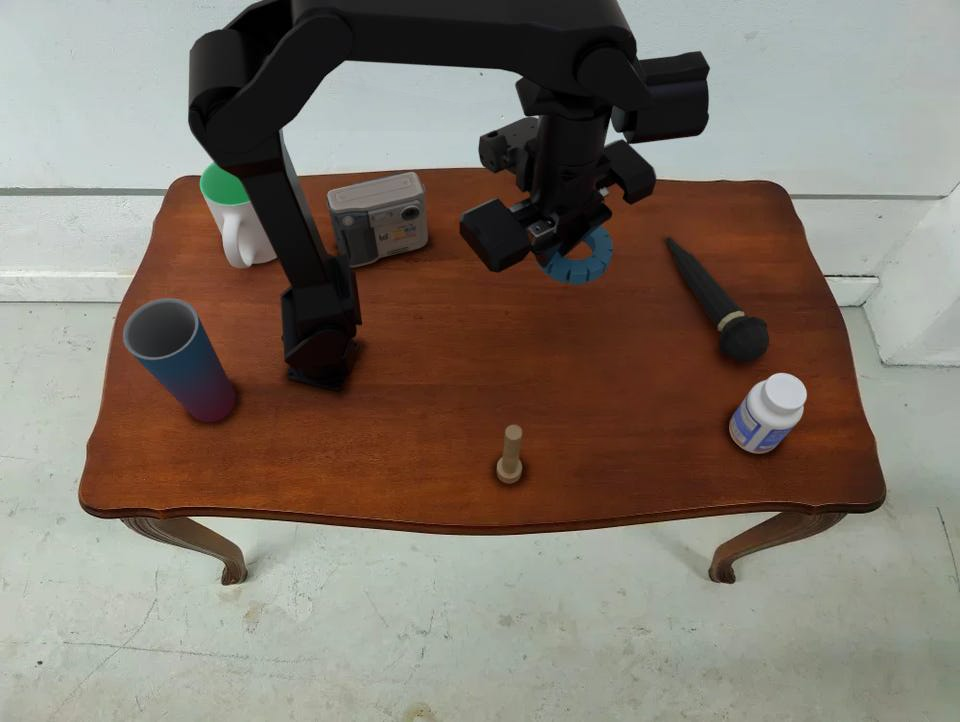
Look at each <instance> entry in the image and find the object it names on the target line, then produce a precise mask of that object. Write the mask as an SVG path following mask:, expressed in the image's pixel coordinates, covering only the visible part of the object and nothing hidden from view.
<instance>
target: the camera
mask: <svg viewBox="0 0 960 722" xmlns="http://www.w3.org/2000/svg"><path fill="white" fill-rule="evenodd" d="M425 187H426V186H425V184H424V183H422V182H421V180H420V177H419V175H418V174H417V173H416V172H413V171H409V172H405V173H392V174H387V175H383V176H380V177H374V178H371V179H366V180H362V181H357V182H353V183H350V184H349V185H347V186H343V187H339V188H338V187H337V188H334V189H331V190H329V191H327V192H326V193H327V194H326V196H325V200H326V201H325V202H326V206H327V209H328V213H329V217H330V221H331V225H332V229H333V236H334V238H335V242H336V246H337V249H338V251H339V256H340V255H343V254H346V253H348V258H349V265H350V268H351V269H353V268H354V269H355V268H360V267H364V266H367V265H371V264H374V263H375V262H377V261H378V260H379V259H381V258H385V257H390V256H393V255H398V254H403V253H406V252H411V251H414V250H419V249H421V248H423V247H424V246H426V245H427V243H428V240H429V232H428V215H427V204H426V201H427V200H426V193H427V190H426V188H425Z"/></svg>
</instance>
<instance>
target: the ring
mask: <svg viewBox="0 0 960 722" xmlns="http://www.w3.org/2000/svg"><path fill="white" fill-rule="evenodd" d="M556 226H557V223H556ZM554 232H555V233H556V228H555V229H554ZM581 243H585V244H586V246H587V247H588V248H589V249H590V250H591V255H588V256H587V257H586V258H582V259H571V258H569V257H567V256H565V257H562V256H561V255H560V254H559V253H558V251H557V252H556V253H555V255H554V257H553V258H552V260H551V261H550V263H549V264H548V265H547V266H546V267H545V268H542V267H541V266H540V265H539V263H538V262H537V260H536V259H535V261H536V262H537V266H538V267H539V268H540V269H541V271H542V272H543V273H544V274H545V275H546V276H548V275H549V278H550V279H552V280H554V281H557V282H558V283H559V282H560V283H562V284H566V283H568V285H586V282H587V283H588V284H590V283H591V282H593V281H595V280H597V279H600V278H601V277H602V275H604V274H605V273H606V271H607V269H608V268H609V266H610V263H611V260H612V257H613V251H614V246H613V240H612V237H611V236H610V233H609V231H608V230H607V229H606V228H605V227H604V226H603V224H602V225H601V226H599V227H598V228H597V229H596V230H595V231H593V232H592V233H591V234H590V235H589V236H587V237H586V238H585V239H584V240H583V241H582V242H581Z"/></svg>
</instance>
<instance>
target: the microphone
mask: <svg viewBox="0 0 960 722" xmlns="http://www.w3.org/2000/svg"><path fill="white" fill-rule="evenodd" d="M665 241H666V243H667V245H668V247H669V250H670V251H671V253H672V254H673V256H674V257H673V261H674V262H675V265H676V266H675V267H676V268H677V269H678V271H679V272H680V274H681V275H682V277H683V279H684V280H685V281H686V284H687V285H688V286H689V288H690V289H691V291H692V293H693V294H694V296H695V297H696V299H697V300H698V302H699V304H700V305H701V306H702V308H703V310H704V311H705V313H706V315H707V316H708V318H709V319H710V320H711V322H712V324H713V325H714V327H715V328H716V330H717V331H718V332H720V333H719V337H720V339H719V340H718V349H719V351H720V353H721V354H722V355H723V356H727V357H729V358H730V359H732V360H734V361H735V362H738V363H752V362H755V361H757V360H759V359H760V358H762V357H763V356H764V354H765V353H766V352H767V350H768V349H769V346H770V336H769V332H768V323H767V322H766V321H765V320H764V319H763V318H760V317H757V316H749V315H745V311H743V309H742V308H741V307H740V306H739V305H738V304H737V302H736V301H735V300H734V299H733V298H732V297H731V296H730V294H728V292H726V290H725V289H724V288H723V287H722V286H721V285H720V283H718V281H717V280H716V279H715V278H714V277H713V275H711V274H710V273H709V271H708V270H707V269H706V268H705V267H704V266H703V265H702V263H700V261H699V260H698V259H697V257H695V256H694V255H693V254H692V253H691V252H689V251H687V250H686V249H684V248H682V247H681V246H680V245H679V244H678V243H677V241H675V240H674V239H672V237H667V238H666V240H665Z"/></svg>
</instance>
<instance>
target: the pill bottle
mask: <svg viewBox="0 0 960 722" xmlns="http://www.w3.org/2000/svg"><path fill="white" fill-rule="evenodd" d="M807 396H808V391H807V389H806V386H805V385H804V383H803V382H802V381H801V380H800V379H799V378H797V377H796V376H795V375H793V374H791V373H785V372H778V373H774V374H772V375H771V376H769V377H768V378H767V379H765V380H761V381H759V382H758V383H756V384H755V385H754V386H752V388H751V389H750V390H749V392H748V393H747V395H746V396H745V397H744V399H743V400H742V402H741V403H740V405H739V406H738V408H737V409H736V410H735V411H734V413H733V415H732V417H731V418H730V420H729V424H728V425H729V427H728V428H729V433H730V437H731V439H732V440H733V441H734V442H735V444H736V445H737V446H739V448H741V449H742V450H744V451H746V452H749V453H752V454H758V455H759V454H766V453H769V452H770V451H772V450H773V449H775V448H776V447H777V446H778V445H779V444H780V443H781V442H782V441H783V439H784V438H785V437H787V435H788V434H789V433H790V432H791V431H792V429H794V427H795V426H796V425H797V424H798V423H799V422H800V420H801V418H802V416H803V414H804V410H805V409H804V404H805V403H806V401H807Z"/></svg>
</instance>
